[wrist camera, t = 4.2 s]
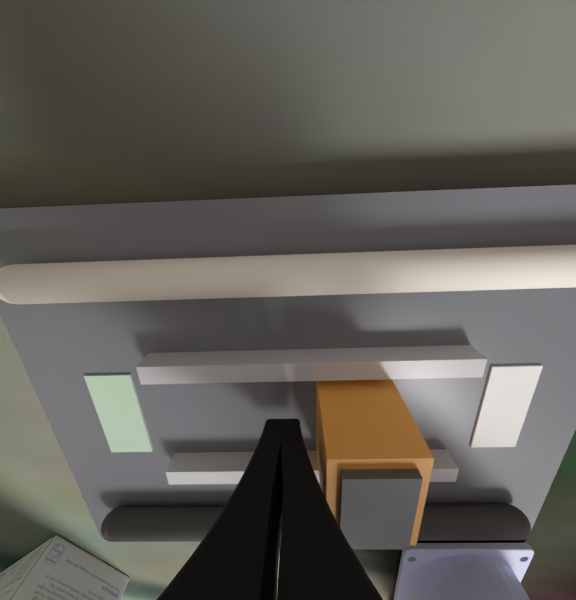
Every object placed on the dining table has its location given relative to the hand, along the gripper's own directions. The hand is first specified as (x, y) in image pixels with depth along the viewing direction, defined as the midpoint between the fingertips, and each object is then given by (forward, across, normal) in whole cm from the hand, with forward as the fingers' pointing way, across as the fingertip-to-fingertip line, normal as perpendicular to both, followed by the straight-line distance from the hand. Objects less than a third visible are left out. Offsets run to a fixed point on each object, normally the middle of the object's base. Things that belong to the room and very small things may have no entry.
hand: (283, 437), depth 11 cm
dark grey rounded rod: (+1, -1, +6) cm, 7 cm away
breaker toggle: (+1, -3, 0) cm, 3 cm away
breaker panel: (+3, -1, 0) cm, 3 cm away
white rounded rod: (+1, -1, -6) cm, 7 cm away
